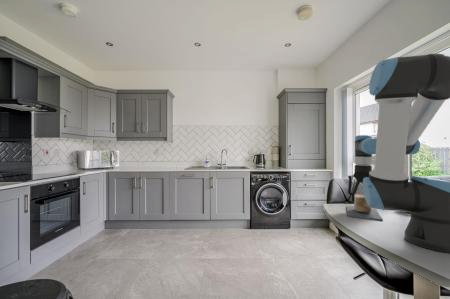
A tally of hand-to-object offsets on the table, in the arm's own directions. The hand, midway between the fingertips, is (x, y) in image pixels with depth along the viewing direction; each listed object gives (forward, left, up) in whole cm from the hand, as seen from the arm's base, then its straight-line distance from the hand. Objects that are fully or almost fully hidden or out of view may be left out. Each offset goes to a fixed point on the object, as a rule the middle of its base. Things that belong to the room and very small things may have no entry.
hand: (362, 208), depth 111 cm
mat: (0, 0, -2) cm, 2 cm away
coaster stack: (0, 0, 0) cm, 0 cm away
